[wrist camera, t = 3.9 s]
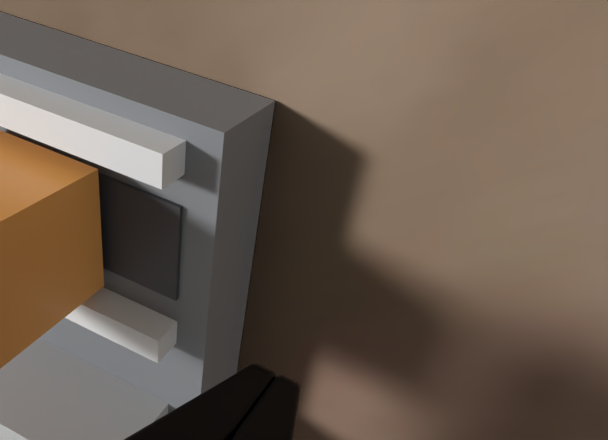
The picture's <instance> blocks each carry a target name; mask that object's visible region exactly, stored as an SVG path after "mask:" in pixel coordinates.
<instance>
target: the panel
mask: <svg viewBox="0 0 608 440" xmlns="http://www.w3.org/2000/svg"><path fill="white" fill-rule="evenodd" d="M274 105H275V101H274V100H271V99H268V98H265V97H262V96H259V95H256V94H253V93H250V92H247V91H244V90H241V89H237V88H234V87H231V86H228V85H225V84H222V83H219V82H216V81H213V80H210V79H207V78H204V77H200V76H197V75H194V74H191V73H188V72H185V71H182V70H179V69H176V68H173V67H170V66H167V65H163V64H160V63H157V62H154V61H151V60H148V59H145V58H142V57H139V56H136V55H133V54H129V53H126V52H123V51H120V50H117V49H114V48H111V47H108V46H105V45H102V44H99V43H96V42H92V41H89V40H86V39H83V38H80V37H77V36H74V35H71V34H68V33H65V32H62V31H59V30H55V29H52V28H49V27H46V26H43V25H40V24H37V23H34V22H31V21H28V20H25V19H22V18H18V17H15V16H12V15H9V14H6V13H3V12H0V130H1V131H3V132H6V133H8V134H11V135H13V136H16V137H18V138H21V139H23V140H26V141H29V142H31V143H34V144H36V145H39V146H41V147H44V148H46V149H49V150H51V151H54V152H56V153H59V154H61V155H64V156H66V157H69V158H71V159H74V160H76V161H79V162H82V163H84V164H87V165H89V166H92V167H94V168H97V169H98V177H99V196H100V216H101V235H102V254H103V274H104V287H102V288H101V289H100V290H99V291H97V292H96V293H95V294H94V295H92V296H91V297H90V298H89V299H87V300H86V301H85V302H84V303H82V304H81V305H80V306H79V307H77V308H76V309H75V310H74V311H72V312H71V313H70V314H69V315H67V316H66V317H65V318H64V319H62V320H61V321H60V322H58V323H57V324H56V325H55V326H53V327H52V328H51V329H50V330H48V331H47V332H46V333H45V334H43V335H42V336H41V337H40V338H38V339H37V340H36V341H35V342H33V343H32V344H31V345H30V346H28V347H27V348H26V349H25V350H23V351H22V352H21V353H20V354H18V355H17V356H16V357H15V358H13V359H12V360H11V361H10V362H8V363H7V364H6V365H5V366H3V367H2V368H1V369H0V440H124V439H125V438H127V437H129V436H131V435H132V434H134V433H136V432H137V431H139V430H141V429H142V428H144V427H146V426H148V425H149V424H151V423H153V422H154V421H156V420H158V419H159V418H161V417H163V416H165V415H166V414H168V413H170V412H171V411H173V410H175V409H176V408H178V407H180V406H182V405H183V404H185V403H187V402H188V401H190V400H192V399H193V398H195V397H197V396H199V395H200V394H202V393H204V392H205V391H207V390H209V389H211V388H212V387H214V386H216V385H217V384H219V383H221V382H222V381H224V380H226V379H228V378H229V377H231V376H233V375H234V374H236V373H237V367H238V360H239V353H240V346H241V339H242V332H243V325H244V317H245V310H246V303H247V296H248V289H249V282H250V275H251V268H252V261H253V254H254V247H255V240H256V233H257V226H258V219H259V211H260V204H261V197H262V190H263V183H264V176H265V169H266V162H267V155H268V148H269V141H270V134H271V127H272V120H273V113H274Z"/></svg>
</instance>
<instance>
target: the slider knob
mask: <svg viewBox="0 0 608 440" xmlns="http://www.w3.org/2000/svg"><path fill="white" fill-rule="evenodd" d="M102 287H104V274H103V254H102V235H101V216H100V196H99V177H98V169H97V168H94V167H92V166H89V165H87V164H84V163H82V162H79V161H76V160H74V159H71V158H69V157H66V156H64V155H61V154H59V153H56V152H54V151H51V150H49V149H46V148H44V147H41V146H39V145H36V144H34V143H31V142H29V141H26V140H23V139H21V138H18V137H16V136H13V135H11V134H8V133H6V132H3V131H1V130H0V369H1V368H2V367H3V366H5V365H6V364H7V363H8V362H10V361H11V360H12V359H13V358H15V357H16V356H17V355H18V354H20V353H21V352H22V351H23V350H25V349H26V348H27V347H28V346H30V345H31V344H32V343H33V342H35V341H36V340H37V339H38V338H40V337H41V336H42V335H43V334H45V333H46V332H47V331H48V330H50V329H51V328H52V327H53V326H55V325H56V324H57V323H58V322H60V321H61V320H62V319H64V318H65V317H66V316H67V315H69V314H70V313H71V312H72V311H74V310H75V309H76V308H77V307H79V306H80V305H81V304H82V303H84V302H85V301H86V300H87V299H89V298H90V297H91V296H92V295H94V294H95V293H96V292H97V291H99V290H100V289H101V288H102Z"/></svg>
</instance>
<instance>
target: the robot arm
mask: <svg viewBox="0 0 608 440" xmlns="http://www.w3.org/2000/svg"><path fill="white" fill-rule="evenodd" d="M299 395H300V384H299V383H297V382H295V381H293V380H291V379H289V378H287V377H284V376H282V375H278V376H277V377H276V373H275V372H274V371H272V370H269V369H267V368H265V367H263V366H261V365H259V364H252V365H250V366H248V367H246V368H245V369H243V370H241V371H239V372H238V373H236V374H234V375H233V376H231V377H229V378H228V379H226V380H224V381H222V382H221V383H219V384H217V385H216V386H214V387H212V388H211V389H209V390H207V391H205V392H204V393H202V394H200V395H199V396H197V397H195V398H193V399H192V400H190V401H188V402H187V403H185V404H183V405H182V406H180V407H178V408H176V409H175V410H173V411H171V412H170V413H168V414H166V415H165V416H163V417H161V418H159V419H158V420H156V421H154V422H153V423H151V424H149V425H148V426H146V427H144V428H142V429H141V430H139V431H137V432H136V433H134V434H132V435H131V436H129V437H127V438H125V439H124V440H293V437H294V430H295V423H296V416H297V409H298V402H299Z"/></svg>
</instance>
